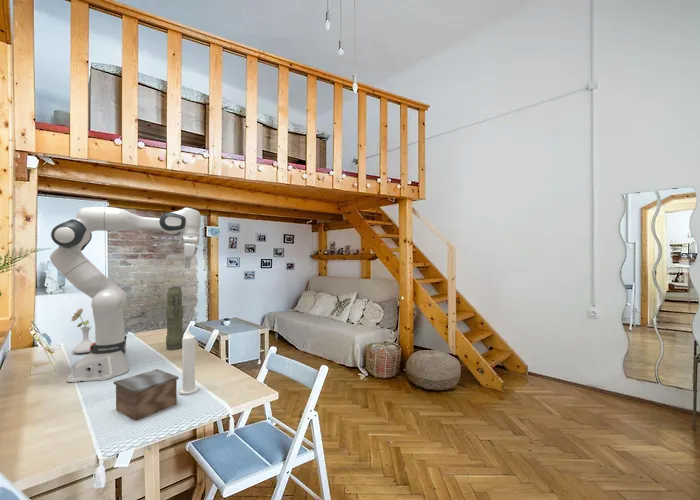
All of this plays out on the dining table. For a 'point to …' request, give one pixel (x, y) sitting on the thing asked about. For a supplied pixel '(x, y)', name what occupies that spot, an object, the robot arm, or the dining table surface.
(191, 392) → the candle
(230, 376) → the dining table surface
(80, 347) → the flower in vase
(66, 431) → the dining table surface
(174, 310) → the thermos
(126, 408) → the walnut pedestal
